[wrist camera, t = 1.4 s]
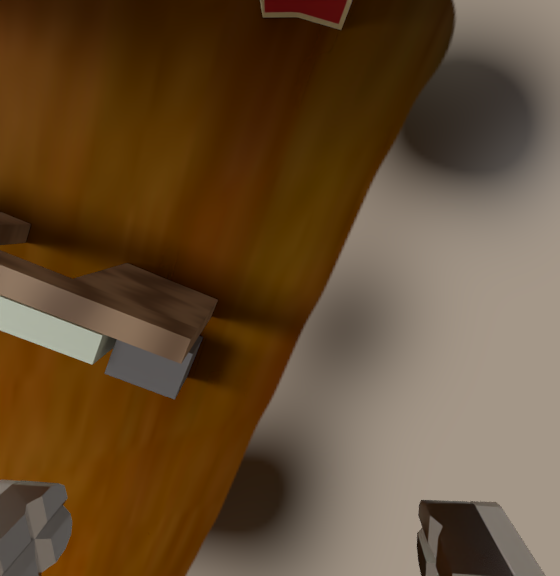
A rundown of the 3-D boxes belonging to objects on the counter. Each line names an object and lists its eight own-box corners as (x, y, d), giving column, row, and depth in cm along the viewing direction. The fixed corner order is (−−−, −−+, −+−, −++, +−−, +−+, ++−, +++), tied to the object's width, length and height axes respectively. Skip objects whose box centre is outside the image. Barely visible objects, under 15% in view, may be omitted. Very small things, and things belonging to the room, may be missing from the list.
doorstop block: (126, 353, 38) (104, 373, 33) (141, 312, 37) (121, 326, 32) (187, 376, 39) (174, 399, 34) (203, 336, 38) (192, 354, 33)
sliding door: (-15, 299, 36) (-65, 312, 31) (-6, 267, 36) (-55, 275, 30) (116, 348, 37) (90, 370, 32) (127, 318, 37) (102, 335, 31)
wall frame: (-96, 194, 34) (-300, 179, 22) (-91, 174, 34) (-297, 149, 22) (211, 316, 37) (181, 364, 25) (218, 299, 37) (191, 339, 25)
